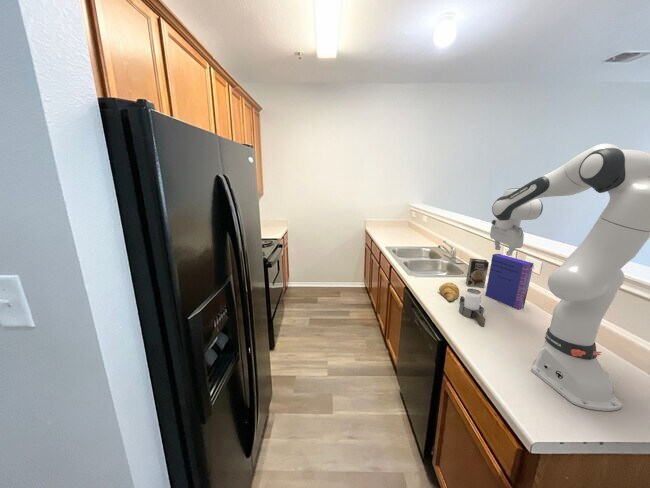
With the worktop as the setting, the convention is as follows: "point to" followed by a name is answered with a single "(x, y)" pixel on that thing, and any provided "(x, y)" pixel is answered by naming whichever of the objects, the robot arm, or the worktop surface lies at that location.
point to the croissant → (449, 291)
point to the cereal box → (509, 280)
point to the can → (472, 299)
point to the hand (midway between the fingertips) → (502, 252)
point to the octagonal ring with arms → (475, 317)
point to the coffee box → (477, 273)
